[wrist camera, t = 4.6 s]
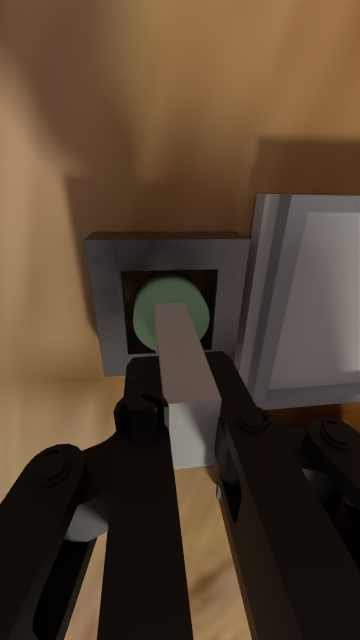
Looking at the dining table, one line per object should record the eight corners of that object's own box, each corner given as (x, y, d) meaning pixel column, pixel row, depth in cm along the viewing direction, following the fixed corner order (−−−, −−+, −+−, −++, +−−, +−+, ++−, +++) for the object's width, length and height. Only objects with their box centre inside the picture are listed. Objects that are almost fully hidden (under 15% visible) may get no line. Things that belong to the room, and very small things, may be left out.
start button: (136, 333, 16) (135, 355, 14) (132, 271, 14) (130, 286, 12) (198, 330, 17) (206, 350, 15) (202, 270, 15) (212, 283, 13)
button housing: (109, 354, 18) (104, 376, 16) (93, 232, 14) (84, 240, 12) (222, 347, 19) (232, 368, 16) (235, 231, 15) (250, 239, 13)
